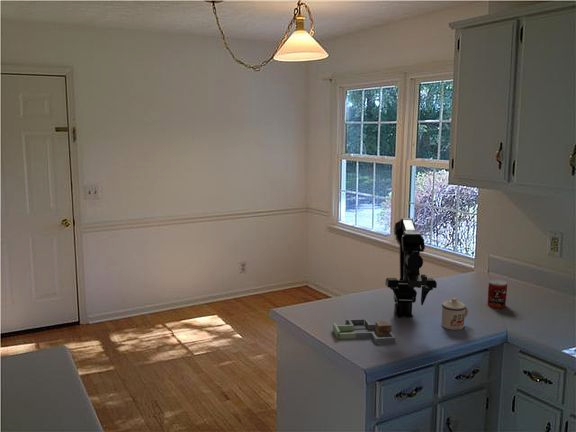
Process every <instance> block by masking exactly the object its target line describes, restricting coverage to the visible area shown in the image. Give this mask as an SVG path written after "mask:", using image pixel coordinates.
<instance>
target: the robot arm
mask: <svg viewBox="0 0 576 432" xmlns="http://www.w3.org/2000/svg"><path fill="white" fill-rule="evenodd" d="M393 229H394V230H393V232H394V236H395V240H396V242H397V244H398V245H399V279H398V278H397V277H386V279H385V286H386V287H387V288H389V289H390V290H392V292H393V301H394V306H393V307H394V309H393V313H394V314H395V315H396V316H397V317H398V318H413V317H414V314H413V304H414V303H416V302H417V294H418V292H417V290H416V288H417V289H421V297H420V304H421V306H423V305H424V303H425V301H426V298H427V295H428V294H429V292H431V291H433V290H434V289H437V281H436V280H435V279H434V278H433V277H431V278H430V277H428V275H427V274H426V273H424V274H421V273H420V269H421V268H422V266H423V265H424V260H423V257H422V256H421V255H420V253H424V252H425V251H424V250H425V248H426V246H425V239H424V236H423V235H421V232H420V231H418V230H416V224H415V222H414V219H413V218H411V217H410V218H409V217H402V218H400V220H399V221H397V222H396V223H395V224H394V227H393Z"/></svg>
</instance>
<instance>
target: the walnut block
mask: <svg viewBox="0 0 576 432" xmlns="http://www.w3.org/2000/svg"><path fill="white" fill-rule="evenodd" d="M374 324H375V329H374V330H375V332H376V334H377V335H378V336H389V332H392V328H393V327H392V326H393V325H392V324H391V323H390V321H389V320H376V321H375V323H374Z"/></svg>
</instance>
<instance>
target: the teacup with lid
mask: <svg viewBox="0 0 576 432" xmlns="http://www.w3.org/2000/svg"><path fill="white" fill-rule="evenodd" d="M441 306H442V307H441V309H442V310H441V326H442V327H443V328H445V329H447V330H451V331H459V330H462V329H464V327H465V319H466V317H467V316H468V314H469V309H468V307H466V304H464V303H463V302H461V301H459V300H457V298H456V297H451V299H449V300H446V301H443V302H442V304H441Z"/></svg>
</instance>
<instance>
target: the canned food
mask: <svg viewBox="0 0 576 432" xmlns="http://www.w3.org/2000/svg"><path fill="white" fill-rule="evenodd" d="M487 287H488V290H487V305H488V307H490V308H494V309H504V308H505V307H506V304H507V291H508V282H507V281H506V280H502V279H489V281H488V286H487Z"/></svg>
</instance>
